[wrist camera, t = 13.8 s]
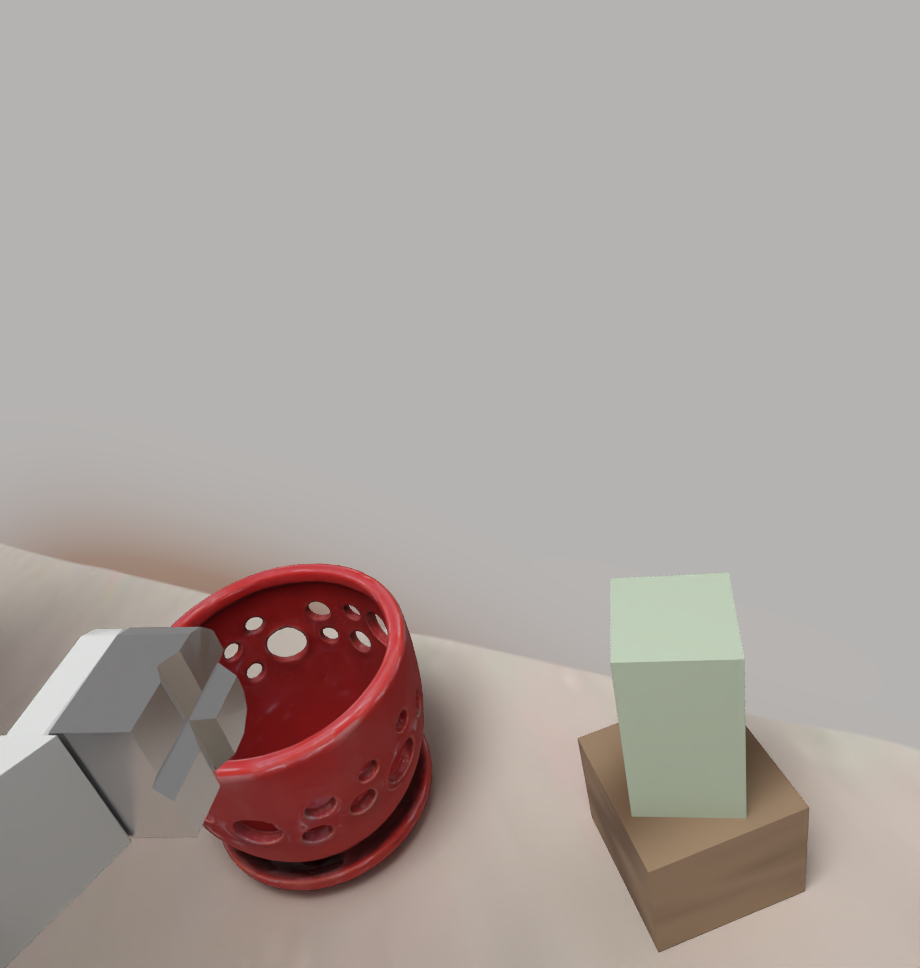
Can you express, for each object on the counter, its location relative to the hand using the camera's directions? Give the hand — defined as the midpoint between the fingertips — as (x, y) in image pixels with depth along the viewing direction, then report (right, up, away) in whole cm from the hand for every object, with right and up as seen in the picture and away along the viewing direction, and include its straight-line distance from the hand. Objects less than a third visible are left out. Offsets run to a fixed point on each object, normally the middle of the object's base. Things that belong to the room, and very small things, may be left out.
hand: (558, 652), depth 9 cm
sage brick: (+9, -10, +26) cm, 29 cm away
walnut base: (+10, -15, +29) cm, 34 cm away
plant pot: (-8, -16, +35) cm, 39 cm away
